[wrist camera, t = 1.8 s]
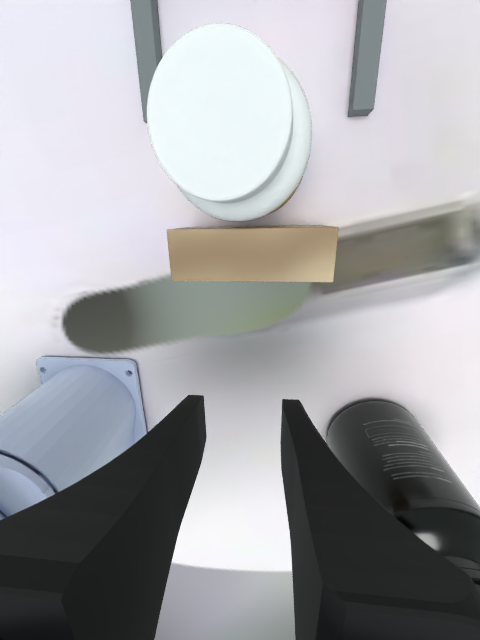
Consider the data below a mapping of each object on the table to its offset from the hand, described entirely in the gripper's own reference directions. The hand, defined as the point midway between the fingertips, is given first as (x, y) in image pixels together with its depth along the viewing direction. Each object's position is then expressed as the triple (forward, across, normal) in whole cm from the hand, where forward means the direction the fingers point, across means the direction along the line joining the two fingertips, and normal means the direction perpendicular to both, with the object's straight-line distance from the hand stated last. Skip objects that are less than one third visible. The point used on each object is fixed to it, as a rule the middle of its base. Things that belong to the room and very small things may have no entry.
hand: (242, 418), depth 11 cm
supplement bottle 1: (+9, 0, -10) cm, 14 cm away
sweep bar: (+9, 0, -6) cm, 11 cm away
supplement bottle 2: (+10, -9, +8) cm, 16 cm away
